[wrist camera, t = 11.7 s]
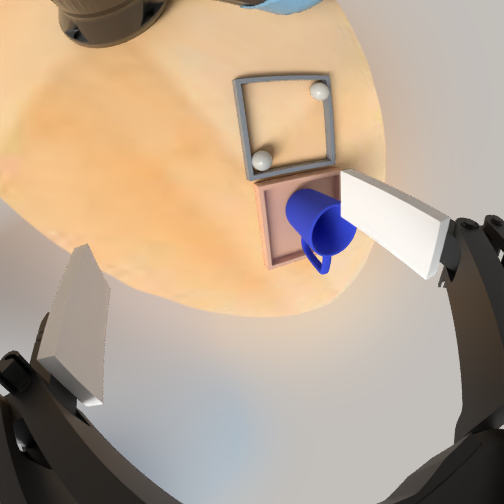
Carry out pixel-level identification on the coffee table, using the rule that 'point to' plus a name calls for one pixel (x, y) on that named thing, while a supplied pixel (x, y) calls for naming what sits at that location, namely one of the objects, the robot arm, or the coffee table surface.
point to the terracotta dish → (274, 216)
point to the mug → (319, 225)
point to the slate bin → (244, 132)
